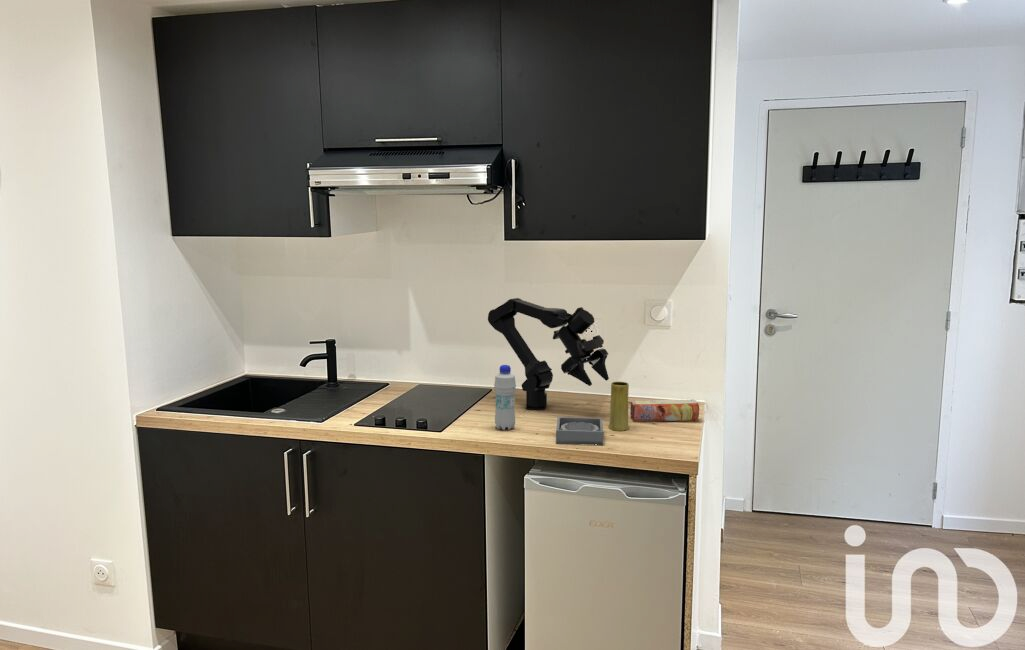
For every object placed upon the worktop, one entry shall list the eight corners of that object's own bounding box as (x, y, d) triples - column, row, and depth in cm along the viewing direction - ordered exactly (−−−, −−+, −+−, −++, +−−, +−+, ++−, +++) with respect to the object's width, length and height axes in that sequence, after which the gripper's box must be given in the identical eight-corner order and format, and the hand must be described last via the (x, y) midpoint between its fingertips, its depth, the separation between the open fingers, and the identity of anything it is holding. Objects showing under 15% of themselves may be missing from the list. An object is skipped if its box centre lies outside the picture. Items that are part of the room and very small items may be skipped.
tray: (555, 443, 219) (556, 430, 218) (557, 429, 232) (557, 416, 231) (603, 445, 217) (603, 432, 217) (601, 430, 231) (602, 418, 230)
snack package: (632, 423, 239) (633, 402, 238) (629, 417, 246) (630, 397, 245) (699, 423, 239) (700, 402, 238) (694, 417, 246) (695, 397, 245)
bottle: (513, 431, 229) (514, 367, 226) (492, 430, 230) (492, 366, 227) (517, 425, 236) (517, 362, 232) (496, 424, 237) (496, 362, 233)
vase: (630, 431, 231) (632, 385, 228) (610, 431, 230) (612, 386, 228) (626, 425, 237) (627, 380, 234) (606, 425, 236) (608, 381, 234)
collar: (560, 439, 220) (560, 432, 219) (561, 427, 230) (561, 421, 230) (598, 440, 219) (598, 433, 218) (597, 428, 229) (597, 422, 229)
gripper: (570, 331, 230) (598, 373, 225) (605, 324, 244) (632, 363, 239) (549, 352, 237) (575, 393, 232) (584, 343, 251) (609, 382, 246)
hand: (599, 382), depth 237 cm, fingers open, 9 cm apart
